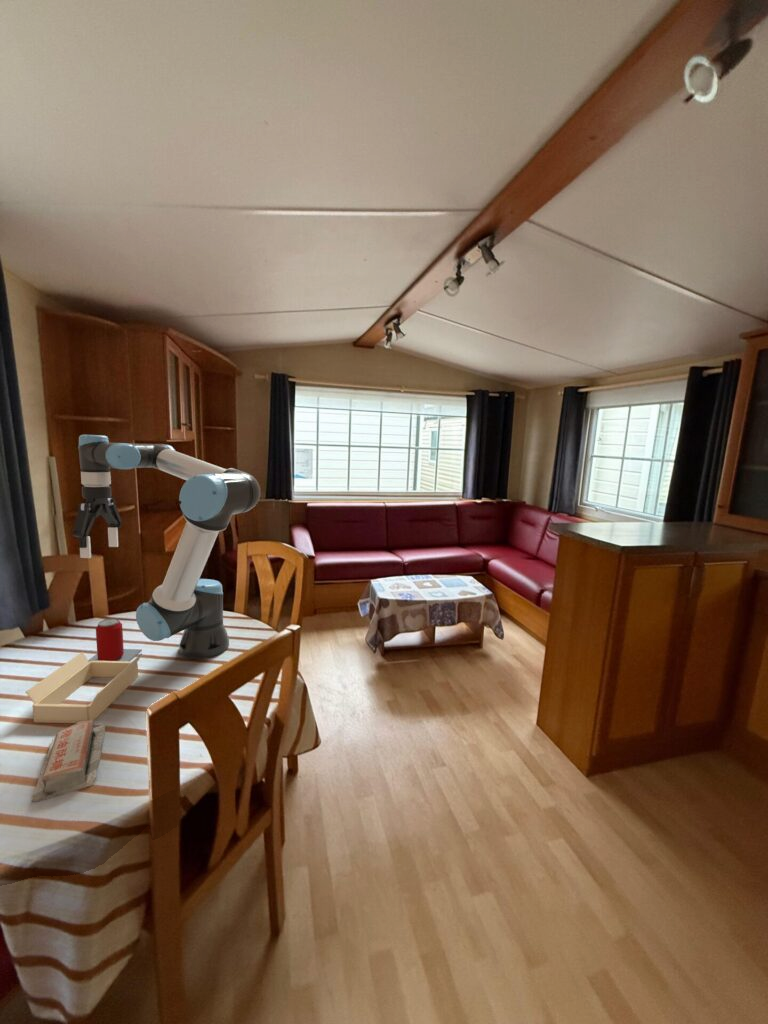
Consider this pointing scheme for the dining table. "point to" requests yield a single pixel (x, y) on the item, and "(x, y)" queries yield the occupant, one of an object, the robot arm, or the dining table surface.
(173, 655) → the dining table surface
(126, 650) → the coaster
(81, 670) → the carton
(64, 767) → the packaged product
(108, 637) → the beverage can
